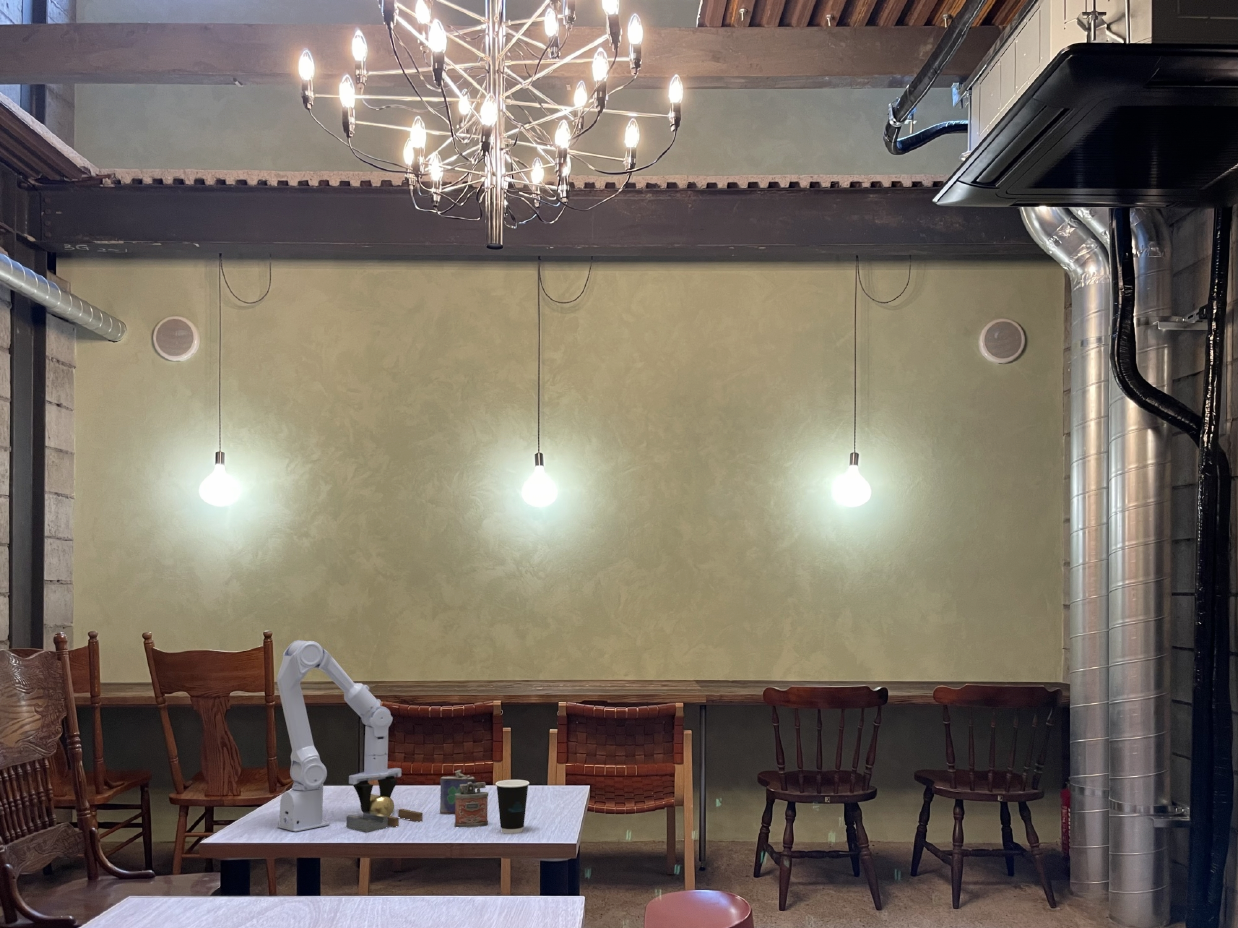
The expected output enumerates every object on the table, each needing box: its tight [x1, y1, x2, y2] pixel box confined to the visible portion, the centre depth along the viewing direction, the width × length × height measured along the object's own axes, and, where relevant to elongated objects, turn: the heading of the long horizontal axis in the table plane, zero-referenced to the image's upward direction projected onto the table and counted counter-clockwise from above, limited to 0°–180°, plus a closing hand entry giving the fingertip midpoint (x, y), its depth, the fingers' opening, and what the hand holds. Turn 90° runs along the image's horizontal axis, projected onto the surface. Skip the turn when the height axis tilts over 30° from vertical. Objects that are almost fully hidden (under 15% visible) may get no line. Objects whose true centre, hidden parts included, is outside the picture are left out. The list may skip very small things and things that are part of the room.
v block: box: [345, 812, 389, 833], centre depth 239 cm, size 6×8×3 cm
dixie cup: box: [495, 779, 530, 835], centre depth 235 cm, size 8×8×11 cm
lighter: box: [454, 781, 489, 828], centre depth 241 cm, size 8×3×10 cm, turn 105°
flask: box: [439, 769, 476, 815], centre depth 255 cm, size 9×3×11 cm, turn 79°
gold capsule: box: [360, 793, 395, 816], centre depth 251 cm, size 7×5×5 cm
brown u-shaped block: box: [378, 808, 424, 828], centre depth 245 cm, size 8×8×2 cm
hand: (374, 809), depth 251 cm, fingers closed on gold capsule, 5 cm apart
